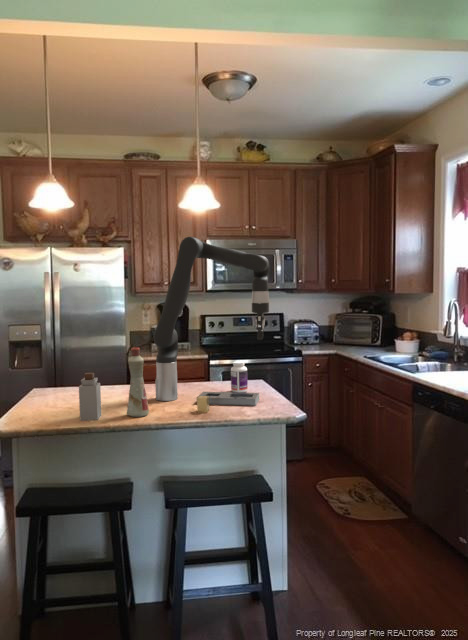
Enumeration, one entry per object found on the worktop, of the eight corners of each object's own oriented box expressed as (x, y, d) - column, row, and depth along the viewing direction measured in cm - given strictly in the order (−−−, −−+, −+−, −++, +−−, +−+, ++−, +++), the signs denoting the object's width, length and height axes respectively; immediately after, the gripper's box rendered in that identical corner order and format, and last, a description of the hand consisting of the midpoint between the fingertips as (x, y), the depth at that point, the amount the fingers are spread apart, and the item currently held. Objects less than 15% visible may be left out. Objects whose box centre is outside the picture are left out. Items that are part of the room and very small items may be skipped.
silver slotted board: (196, 404, 224) (196, 397, 224) (203, 398, 236) (203, 391, 236) (255, 405, 219) (255, 398, 219) (259, 399, 231) (259, 392, 231)
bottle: (124, 413, 209) (122, 345, 207) (146, 411, 213) (144, 344, 211) (129, 418, 201) (126, 348, 199) (151, 416, 205) (149, 346, 203)
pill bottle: (248, 389, 253) (247, 360, 252) (247, 393, 245) (246, 363, 244) (232, 389, 254) (231, 360, 252) (230, 393, 246) (229, 363, 245)
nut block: (197, 412, 210) (197, 398, 209) (199, 410, 214) (199, 395, 213) (206, 412, 209) (206, 398, 209) (209, 410, 213) (208, 396, 213)
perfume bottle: (101, 415, 207) (99, 371, 206) (97, 420, 200) (95, 374, 199) (84, 416, 207) (82, 372, 206) (80, 420, 200) (78, 375, 199)
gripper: (252, 301, 231) (253, 337, 232) (250, 302, 216) (250, 340, 218) (269, 301, 230) (269, 337, 231) (268, 302, 216) (268, 340, 217)
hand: (260, 338), depth 224 cm, fingers open, 8 cm apart
